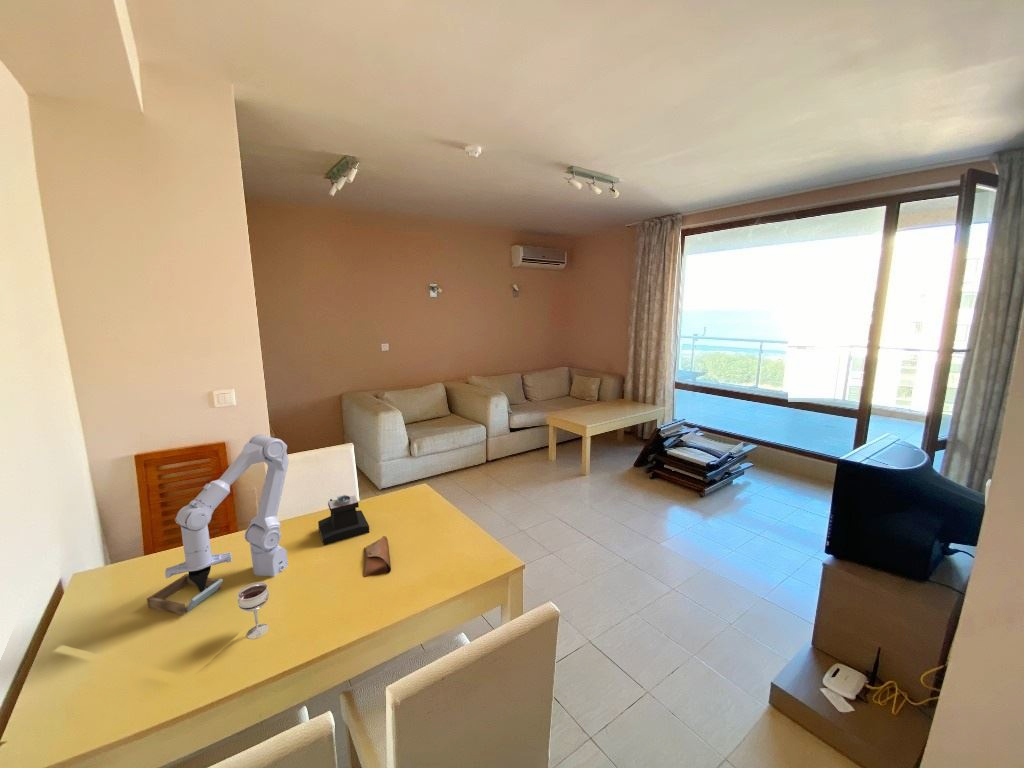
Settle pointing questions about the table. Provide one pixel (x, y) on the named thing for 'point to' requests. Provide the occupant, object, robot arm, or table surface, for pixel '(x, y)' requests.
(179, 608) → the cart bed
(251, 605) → the wineglass
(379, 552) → the sunglasses case
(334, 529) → the camera
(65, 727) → the table surface
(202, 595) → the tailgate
